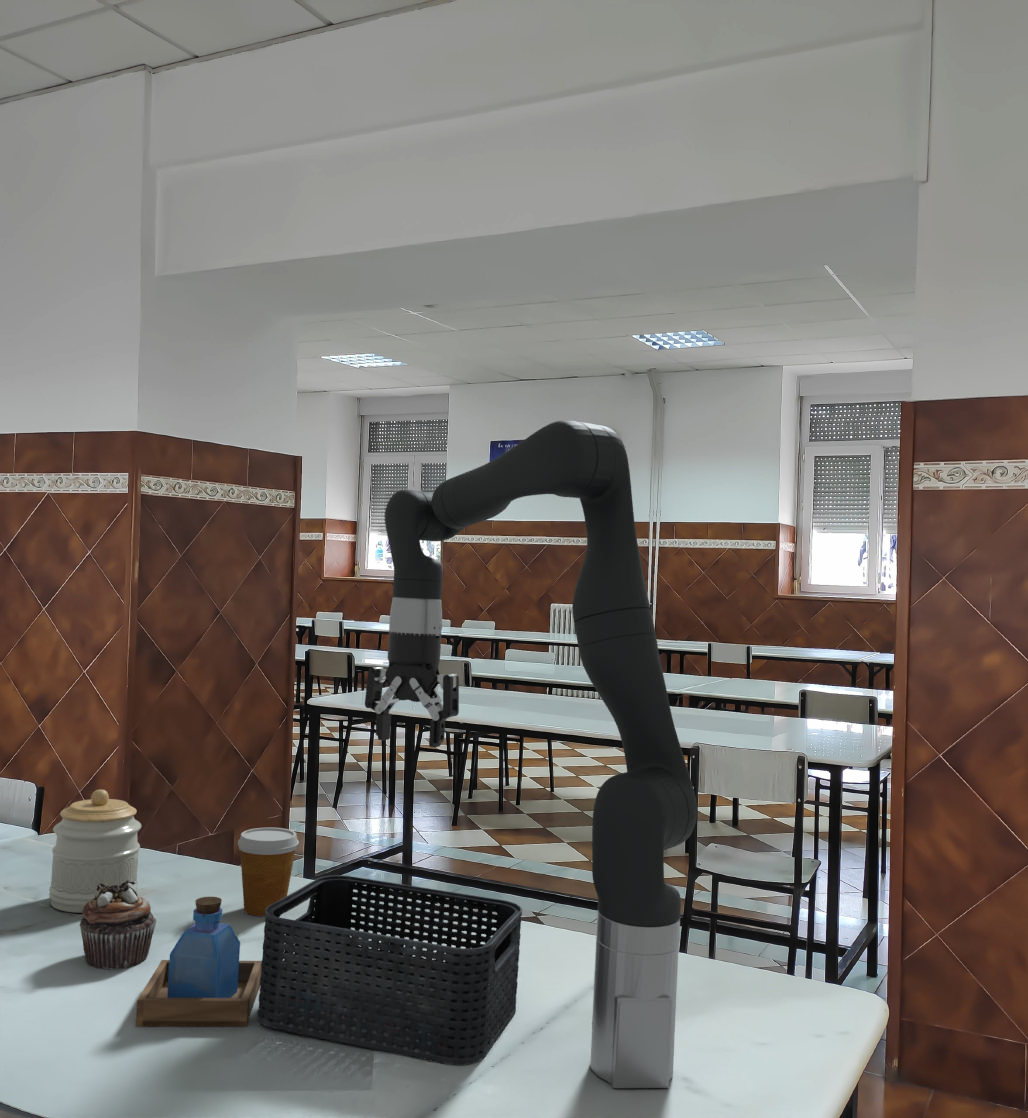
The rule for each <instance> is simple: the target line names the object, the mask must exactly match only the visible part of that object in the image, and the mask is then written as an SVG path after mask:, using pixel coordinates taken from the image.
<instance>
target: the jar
mask: <svg viewBox="0 0 1028 1118" xmlns="http://www.w3.org/2000/svg"><path fill="white" fill-rule="evenodd" d="M136 814H137V808H135V807H133V806H131V805H130V804H129V803H128V802H127V801H125V800H121V799H115V798H114V799H113V798H112V799H111V798H110V795H109V793H108V791H107V790H105V789H102V788H101V789H96V790H95V791H93V792H92V794H91V796H90V799H83V800H79V801H75V802H73V803H71V804H70V805H69V806H68V807H66V808H64V809H63V810H61V811H60V813H59V815H60V817H61V818H62V820H61V821H60V822H58V823H57V824H55V825H54V827H53V829H52V831H53V832H54V834H55V835H56V840H55V845H54V846H53V847H52V849H51V852H52V862H51V863H52V864H51V865H52V866H51V877H50V879H51V881H50V887H49V893H48V897H49V900H50V905H51V907H52V908H54V909H55V910H59V911H60V912H61V911H63V912H67V913H74V914H76V913H77V914H78V913H79V914H83V912H82V911H83V908H84V906H85V905H86V904H87V903H88V902H89V901H90V900H91V899H94V898H95V897H94V893H95V890H96V889H97V888H98V887H97V886H98V885H99V884H104V885H107V886H110V887H111V886H112V885H118V886H120V885H121V884H122V883H124V882H126V881H127V880H129V881H130V882H134V883H135V884H134V885H135V886H136V888H137V889H138V885H139V884H138V865H139V851H140V848H141V845H140V843H139V842H138V832H139V831H140V830H141V829H142V824H141V822H140V821H138V820H137V819H135V817H134V816H135V815H136ZM137 892H138V890H137V891H136V893H137Z"/></svg>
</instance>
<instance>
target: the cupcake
mask: <svg viewBox="0 0 1028 1118" xmlns="http://www.w3.org/2000/svg"><path fill="white" fill-rule="evenodd" d="M134 884H135V883H134V882H130V881H129V880H127V881H126V882H124V883H122V884H121V885H120V886H118V885H112V886H111V887H110V886H107V885H104V884H99V885H98V886H97V887H98V888H97V889H96V890H95V893H94V897H95V898H94V899H91V900H90V901H89V902H88V903H87V904H86V905H85V906H84V908H83V911H82V912H83V913H82V918H81V920H80V921H79V922H80V923H79V928H80V934H81V939H82V947H83V953H84V954H83V955H84V958H85V960H86V964H87V965H88V966H89V967H93V968H96V969H102V970H118V969H125V968H132V967H134V966H137V965H139V964H141V963H143V962H145V961H146V960H147V959H148V956H149V953H150V949H151V948H150V947H151V944H152V943H151V942H152V940H153V935H154V932H155V928H156V924H157V918H156V917H155V916H154V914H153V913H152V912H151V905H150V901H148V900H147V899H146V897H145V898H144V897H142V896H139V895H138V893H137V892H138V887H137V888H136V886H135V885H134ZM136 891H137V892H136Z"/></svg>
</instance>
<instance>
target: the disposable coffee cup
mask: <svg viewBox="0 0 1028 1118" xmlns="http://www.w3.org/2000/svg"><path fill="white" fill-rule="evenodd" d="M297 835H298V834H297V832H295V831H294V830H292V829H288V828H283V827H257V828H250V829H247V830H244V831H242V832H241V833H240V837H239V839H238V840H237V843H236V844H237V845H238V848H239V852H240V865H241V867H240V868H241V882H242V885H241V886H242V895H243V912H245V914H247V913H248V914H247V915H250V916H254V915H255V916H256V915H257V916H256V917H265V909H266V908H267V907H268V906H269V905H271V904H273V903H275V902H277V901H279V900H281V899H282V898H284V897H286V896H288V895H289V894H288V892H289V887H290V881H291V877H292V876H291V875H292V870H293V865H294V859H295V854H296V850H297V848H298V846H299V844H300V841H299V840H298V836H297Z"/></svg>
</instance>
